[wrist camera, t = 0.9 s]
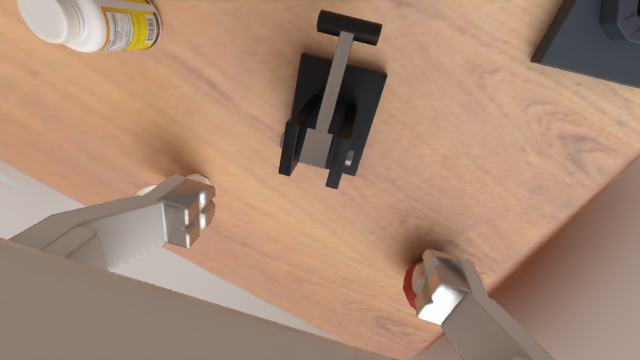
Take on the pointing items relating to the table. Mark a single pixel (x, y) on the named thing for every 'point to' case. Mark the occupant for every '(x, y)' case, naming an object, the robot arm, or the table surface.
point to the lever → (334, 80)
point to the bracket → (348, 117)
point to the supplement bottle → (94, 23)
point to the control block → (595, 40)
